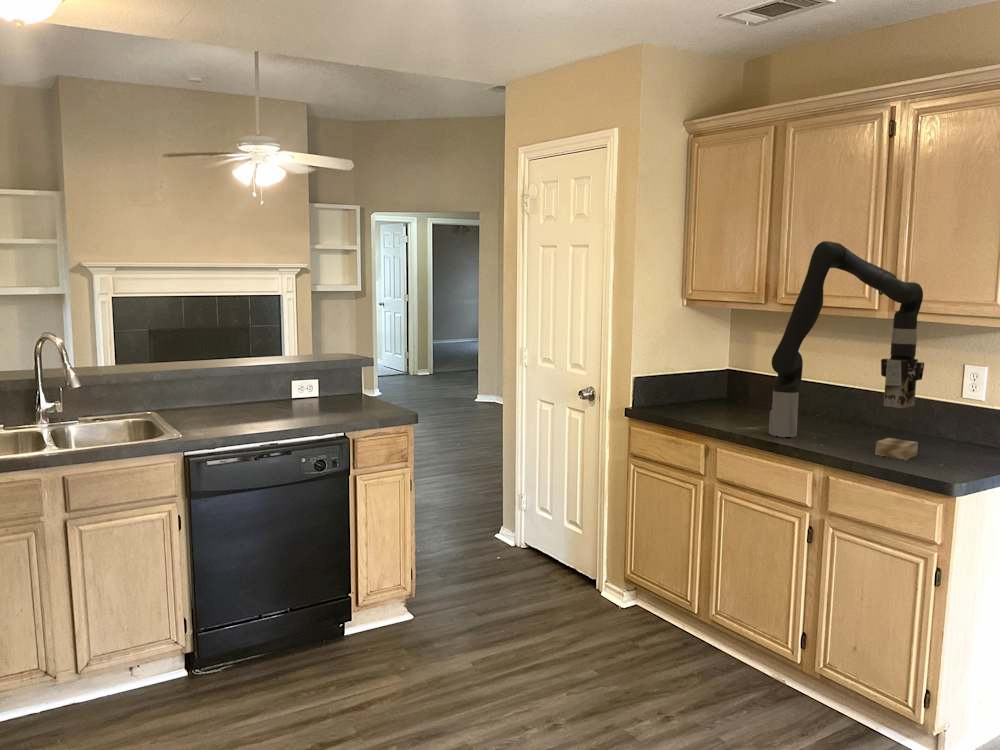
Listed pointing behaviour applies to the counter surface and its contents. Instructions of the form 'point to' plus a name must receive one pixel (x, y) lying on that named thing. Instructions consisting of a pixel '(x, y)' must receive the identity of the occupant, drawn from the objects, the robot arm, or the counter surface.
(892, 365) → the coffee box
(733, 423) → the counter surface
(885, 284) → the robot arm
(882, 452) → the maple block
